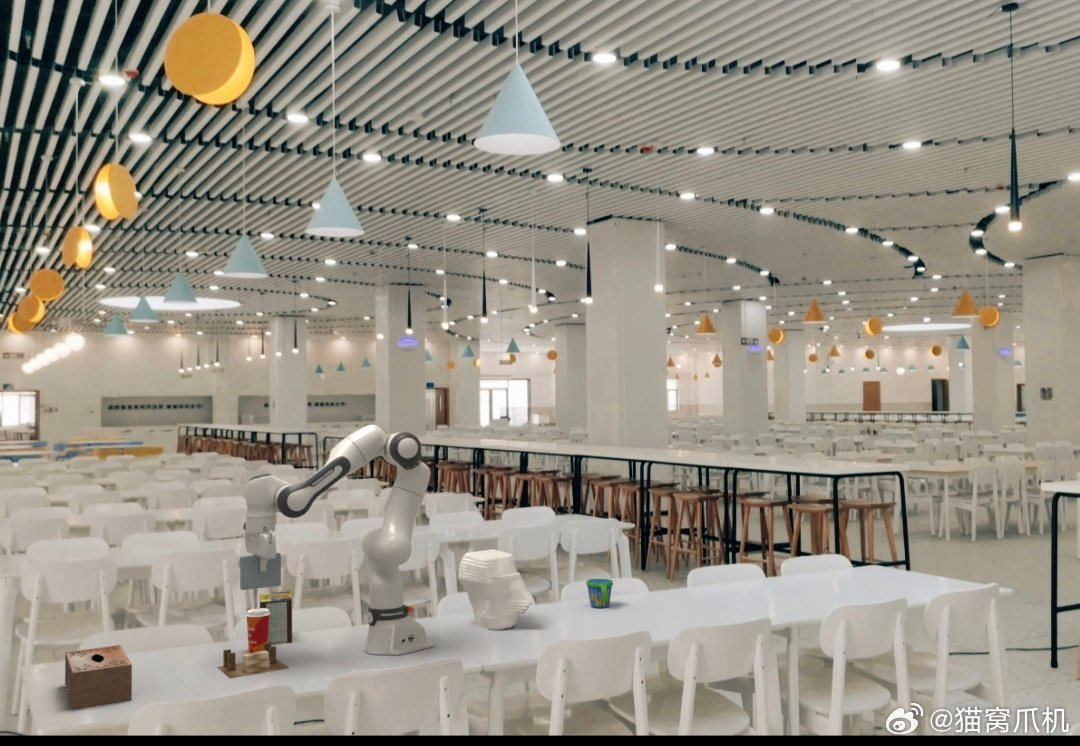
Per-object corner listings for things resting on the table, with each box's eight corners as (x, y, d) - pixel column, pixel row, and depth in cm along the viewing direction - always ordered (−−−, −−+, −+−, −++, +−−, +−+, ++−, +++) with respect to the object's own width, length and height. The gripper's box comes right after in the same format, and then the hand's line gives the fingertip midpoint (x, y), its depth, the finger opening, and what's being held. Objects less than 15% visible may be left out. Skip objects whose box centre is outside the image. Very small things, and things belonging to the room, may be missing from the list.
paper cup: (244, 652, 296) (244, 609, 297) (268, 649, 299) (268, 607, 300) (246, 658, 289) (246, 613, 289) (271, 655, 292) (271, 611, 292)
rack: (274, 659, 286) (274, 641, 286) (290, 670, 273) (290, 651, 274) (216, 669, 276) (216, 650, 276) (229, 681, 263) (229, 661, 264)
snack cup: (616, 610, 351) (615, 584, 351) (589, 611, 350) (589, 584, 350) (609, 602, 366) (609, 577, 367) (584, 603, 365) (583, 577, 366)
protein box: (290, 635, 319) (290, 590, 320) (292, 645, 304) (292, 598, 305) (259, 637, 316) (259, 593, 317) (260, 648, 301) (260, 601, 302)
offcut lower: (266, 666, 275) (266, 658, 275) (269, 669, 272) (269, 660, 273) (243, 670, 271) (243, 662, 271) (246, 673, 269) (246, 664, 269)
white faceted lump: (504, 615, 344) (503, 548, 346) (534, 630, 320) (533, 557, 321) (452, 621, 335) (451, 552, 336) (479, 637, 311) (478, 562, 312)
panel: (278, 584, 287) (278, 552, 287) (280, 585, 285) (280, 553, 285) (240, 589, 280) (240, 556, 281) (242, 590, 278) (242, 557, 279)
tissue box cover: (65, 687, 261) (65, 652, 261) (119, 678, 268) (119, 644, 269) (72, 711, 239) (72, 673, 239) (131, 701, 247) (131, 664, 247)
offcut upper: (265, 658, 275) (264, 650, 275) (268, 660, 273) (268, 652, 273) (242, 662, 271) (242, 654, 271) (246, 664, 268) (246, 656, 268)
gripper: (281, 528, 277) (281, 573, 276) (261, 522, 293) (261, 565, 293) (260, 529, 273) (260, 575, 272) (241, 523, 290) (241, 567, 289)
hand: (260, 570), depth 283 cm, fingers closed on panel, 2 cm apart
